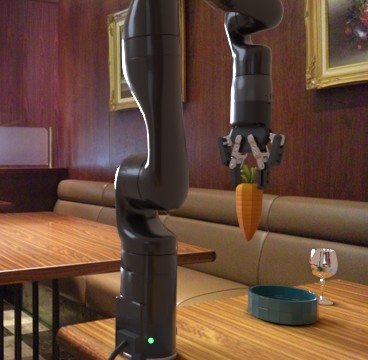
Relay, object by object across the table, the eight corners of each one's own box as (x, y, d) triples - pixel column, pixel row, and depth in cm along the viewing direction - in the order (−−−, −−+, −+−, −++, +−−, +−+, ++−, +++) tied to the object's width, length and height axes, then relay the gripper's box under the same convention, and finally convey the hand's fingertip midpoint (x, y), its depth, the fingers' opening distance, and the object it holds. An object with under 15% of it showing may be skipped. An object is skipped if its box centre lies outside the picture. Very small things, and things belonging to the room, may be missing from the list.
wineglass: (302, 300, 115) (303, 248, 115) (318, 297, 117) (320, 247, 117) (325, 306, 110) (326, 253, 109) (342, 303, 112) (343, 251, 112)
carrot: (264, 243, 94) (266, 164, 93) (237, 242, 95) (238, 164, 94) (259, 239, 99) (260, 164, 98) (232, 238, 100) (234, 164, 99)
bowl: (295, 331, 94) (296, 305, 93) (234, 313, 104) (235, 290, 104) (330, 319, 101) (331, 295, 101) (270, 303, 112) (271, 282, 112)
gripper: (208, 103, 100) (206, 187, 100) (274, 95, 88) (272, 191, 88) (231, 105, 104) (229, 186, 104) (298, 98, 92) (295, 190, 93)
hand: (249, 188), depth 96 cm, fingers closed on carrot, 5 cm apart
